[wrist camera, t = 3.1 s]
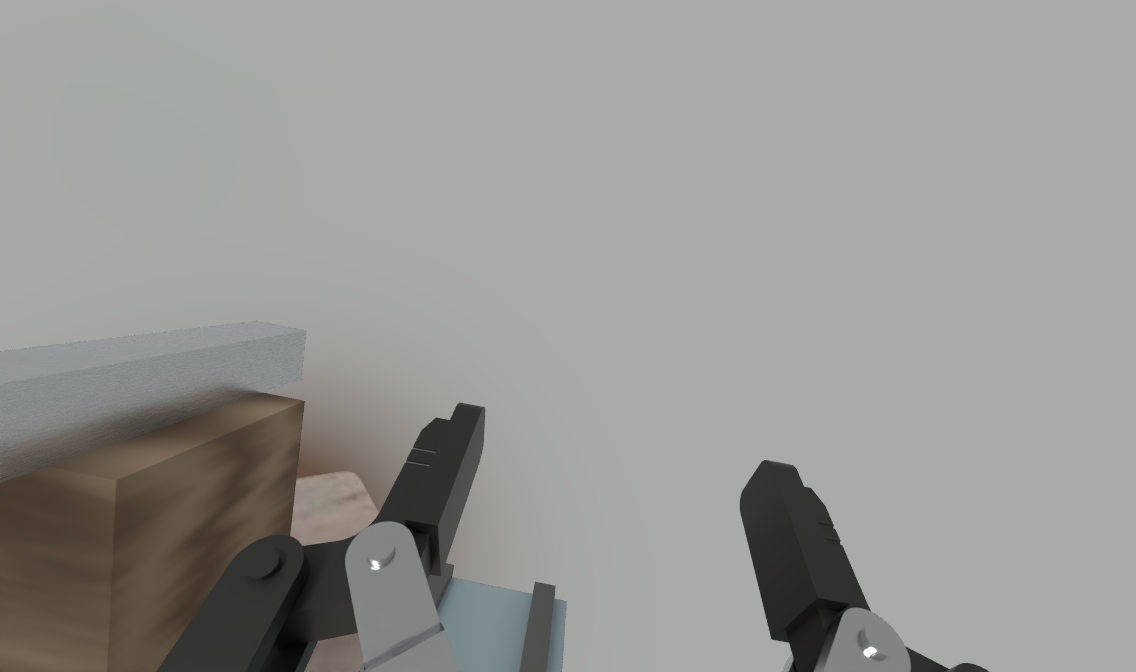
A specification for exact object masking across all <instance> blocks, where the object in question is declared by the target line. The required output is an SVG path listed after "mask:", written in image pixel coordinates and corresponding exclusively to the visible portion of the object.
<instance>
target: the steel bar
mask: <svg viewBox="0 0 1136 672" xmlns="http://www.w3.org/2000/svg"><path fill="white" fill-rule="evenodd" d="M305 340H306V330H301V329H296V328H291V327H286V326H280V325H275V324H270V323H265V322H260V321H252V322H243V323H235V324H226V325H218V326H209V327H201V328H193V329H184V330H176V331H168V332H159V333H152V334H151V333H150V334H142V335H133V336H126V337H117V338H109V339H101V340H92V341H84V342H74V343H66V344H57V345H49V346H41V347H32V348H24V349H16V350H7V351H0V483H1V482H4V481H7V480H10V479H13V478H16V477H18V476H21V475H24V474H27V473H30V472H33V471H36V470H39V469H42V468H45V467H48V466H51V465H54V464H56V463H59V462H62V461H65V460H68V459H71V458H74V457H77V456H80V455H83V454H86V453H89V452H92V451H94V450H97V449H100V448H103V447H106V446H109V445H112V444H115V443H118V442H121V441H124V440H127V439H129V438H132V437H135V436H138V435H141V434H144V433H147V432H150V431H153V430H156V429H159V428H162V427H165V426H167V425H170V424H173V423H176V422H179V421H182V420H185V419H188V418H191V417H194V416H197V415H200V414H203V413H205V412H208V411H211V410H214V409H217V408H220V407H223V406H226V405H229V404H232V403H235V402H238V401H241V400H243V399H246V398H249V397H252V396H255V395H258V394H261V393H264V392H266V391H270V390H272V389H276V388H279V387H281V386H284V385H287V384H290V383H293V382H296V381H299V380H301V376H302V368H303V358H304V348H305Z"/></svg>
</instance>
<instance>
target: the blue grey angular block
mask: <svg viewBox="0 0 1136 672" xmlns="http://www.w3.org/2000/svg"><path fill="white" fill-rule="evenodd" d="M453 568H454V565H451V564H446V563H445V566H444V569H443V572H442V575H441V576H435V575H430V576H429V578H428V581H427V582H428V585H429V589H430V592H431V595H432V598H433V601H434V604H435V608H436V611H437V614H438V617H439V620H440V622H441V624H442V625H443V627H444V629H445V631H446V633H447V636H448V639H449V642H450V645H451V648H452V651H453V654H454V657H455V660H456V663H457V666H458V670H459V672H562V663H563V648H564V633H565V618H566V603H567V602H566V601H563V600H558V599H554V596H555V586H553V585H548V584H543V583H538V582H535V585H534V591H533V594H529V593H524V592H519V591H515V590H510V589H505V588H500V587H495V586H491V585H485V584H481V583H476V582H471V581H467V580H462V579H457V578H452V574H453ZM359 672H364V664H363V666H362V668H361V670H360V671H359Z"/></svg>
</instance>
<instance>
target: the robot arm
mask: <svg viewBox="0 0 1136 672" xmlns="http://www.w3.org/2000/svg"><path fill="white" fill-rule="evenodd" d="M484 423H485V407H480V406H475V405H470V404H464V403H458V404H457V406H456V408H455V410H454V412H453V415H452V417H451V419H450V420H446V419H440V418H435V419H434V420H433V421H432V422H431V423H429V425H427V426H426V427H425V428H424V429H423V430H422V431H421V432H420V435H419V436H418V438H417V441H416V442H415V444H414V447H413V450H411V452H410V454H409V456H408V458H407V461H406V463H405V464H404V466H403V468H402V470H401V472H400V474H399V476H398V477H397V479H396V481H395V483H394V485H393V487H392V489H391V491H390V493H389V495H388V497H387V499H386V501H385V503H384V505H383V507H382V509H381V511H380V513H379V514H378V516H377V517H376V519H375V520H374V521H373V522H372V523H371V524H370V525H369V526H368V527H367V528H366V529H364V530H363V531H362V532H360V533H358V534H357V535H355V536H352V537H350V538H347V539H344V540H340V541H335V542H328V543H321V544H314V545H307V546H302V545H301V544H300V542H299V541H298V540H296V539H295V538H293V537H291V536H288V535H271V536H267V537H264V538H261V539H259V540H257V541H255V542H253V543H251V544H250V545H248V546H247V547H245V548H244V549H243V550H241V551H240V552H239V553H238V554H237V555H236V556H235V557H234V558H233V560H232V561H231V562H230V564H229V565H228V567H227V568H226V569H225V571H224V572H223V574H222V575H221V577H220V578H219V580H218V581H217V583H216V584H215V586H214V587H213V589H212V590H211V592H210V593H209V595H208V596H207V597H206V599H205V600H204V602H203V603H202V605H201V606H200V608H199V609H198V611H197V612H196V614H195V615H194V617H193V618H192V620H191V621H190V622H189V624H188V625H187V627H186V628H185V630H184V631H183V633H182V634H181V636H180V637H179V639H178V640H177V642H176V643H175V645H174V646H173V648H172V649H171V650H170V652H169V653H168V655H167V656H166V658H165V659H164V661H163V662H162V664H161V665H160V667H159V668H158V670H157V671H156V672H304V670H305V668H306V666H307V664H308V662H309V659H310V657H311V655H312V653H313V650H314V648H315V646H316V644H317V641H319V640H324V639H329V638H334V637H339V636H344V635H349V634H354V633H358V635H359V641H360V646H361V651H362V657H363V663H364V672H459V670H458V666H457V663H456V660H455V657H454V654H453V651H452V648H451V645H450V642H449V639H448V636H447V633H446V631H445V629H444V627H443V625H442V624H441V622H440V620H439V617H438V614H437V611H436V608H435V604H434V601H433V598H432V595H431V592H430V589H429V585H428V582H427V581H428V578H429V576H430V575H435V576H441V575H442V572H443V569H444V566H445V562H446V560H447V556H448V554H449V551H450V548H451V545H452V542H453V539H454V536H455V533H456V530H457V527H458V524H459V521H460V518H461V515H462V512H463V509H464V506H465V504H466V501H467V497H468V495H469V491H470V489H471V486H472V483H473V480H474V477H475V474H476V471H477V468H478V465H479V462H480V458H481V454H482V450H483V442H484V425H485V424H484ZM740 512H741V517H742V521H743V525H744V529H745V533H746V537H747V541H748V545H749V549H750V553H751V558H752V561H753V566H754V569H755V574H756V578H757V581H758V586H759V590H760V594H761V598H762V602H763V606H764V610H765V614H766V619H767V623H768V627H769V631H770V635H771V639H773V640H778V641H783V642H789V643H790V647H791V651H792V654H791V655H790V656H789V658H788V659H787V661H786V664H785V666H784V669H783V671H782V672H989V671H987V670H986V669H984V668H982V667H980V666H977V665H974V664H970V663H962V664H959V665H957V666H956V667H953V668H951V669H948V668H946V667H944V666H942V665H940V664H938V663H936V662H934V661H933V660H931V659H928V658H927V657H925V656H923V655H921V654H919V653H917V652H915V651H913V650H911V649H909V648H907V647H906V646H905V645H904V643H903V642H902V640H901V639H900V637H899V636H898V634H897V633H896V632H895V631H894V630H893V628H892V627H891V626H890V625H889V624H888V623H887V622H885V621H884V620H883V619H882V618H881V617H879V616H878V615H876V614H874V613H873V612H871V610H870V608H869V606H868V604H867V602H866V600H865V597H864V595H863V593H862V590H861V588H860V586H859V583H858V581H857V579H856V576H855V574H854V572H853V569H852V567H851V565H850V562H849V560H848V558H847V555H846V553H845V551H844V548H843V546H842V545H840V539H839V537H838V534H837V532H836V530H835V529H833V526H834V525H833V523H832V520H831V518H830V516H829V514H828V511H827V509H826V506H825V505H824V504H823V503H822V501H821V500H820V499H819V498H818V496H817V495H816V494H815V493H814V491H813V490H812V489H811V488H808V487H804V486H803V483H802V481H801V478H800V476H799V473H798V471H797V469H796V468H795V467H794V466H793V465H789V464H784V463H779V462H773V461H768V460H764V461H762V462H761V464H760V465H759V467H758V468H757V470H756V471H755V473H754V474H753V476H752V477H751V479H750V480H749V482H748V483H747V485H746V486H745V488H744V489H743V491H742V494H741V498H740Z"/></svg>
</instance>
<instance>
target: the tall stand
mask: <svg viewBox="0 0 1136 672" xmlns="http://www.w3.org/2000/svg"><path fill="white" fill-rule="evenodd" d="M304 402H305V401H302V400H297V399H292V398H287V397H281V396H277V395H271V394H267V393H261V394H258V395H255V396H252V397H249V398H246V399H243V400H241V401H238V402H235V403H232V404H229V405H226V406H223V407H220V408H217V409H214V410H211V411H208V412H205V413H203V414H200V415H197V416H194V417H191V418H188V419H185V420H182V421H179V422H176V423H173V424H170V425H167V426H165V427H162V428H159V429H156V430H153V431H150V432H147V433H144V434H141V435H138V436H135V437H132V438H129V439H127V440H124V441H121V442H118V443H115V444H112V445H109V446H106V447H103V448H100V449H97V450H94V451H92V452H89V453H86V454H83V455H80V456H77V457H74V458H71V459H68V460H65V461H62V462H59V463H56V464H54V465H51V466H48V467H45V468H42V469H39V470H36V471H33V472H30V473H27V474H24V475H21V476H18V477H16V478H13V479H10V480H7V481H4V482H1V483H0V672H156V671H157V670H158V668H159V667H160V665H161V664H162V662H163V661H164V659H165V658H166V656H167V655H168V653H169V652H170V650H171V649H172V648H173V646H174V645H175V643H176V642H177V640H178V639H179V637H180V636H181V634H182V633H183V631H184V630H185V628H186V627H187V625H188V624H189V622H190V621H191V620H192V618H193V617H194V615H195V614H196V612H197V611H198V609H199V608H200V606H201V605H202V603H203V602H204V600H205V599H206V597H207V596H208V595H209V593H210V592H211V590H212V589H213V587H214V586H215V584H216V583H217V581H218V580H219V578H220V577H221V575H222V574H223V572H224V571H225V569H226V568H227V567H228V565H229V564H230V562H231V561H232V560H233V558H234V557H235V556H236V555H237V554H238V553H239V552H240V551H241V550H243V549H244V548H245V547H247V546H248V545H250V544H251V543H253V542H255V541H257V540H259V539H261V538H264V537H267V536H271V535H288V536H290V532H291V522H292V513H293V504H294V495H295V486H296V476H297V467H298V458H299V449H300V440H301V439H300V438H301V430H302V421H303V412H304Z"/></svg>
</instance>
